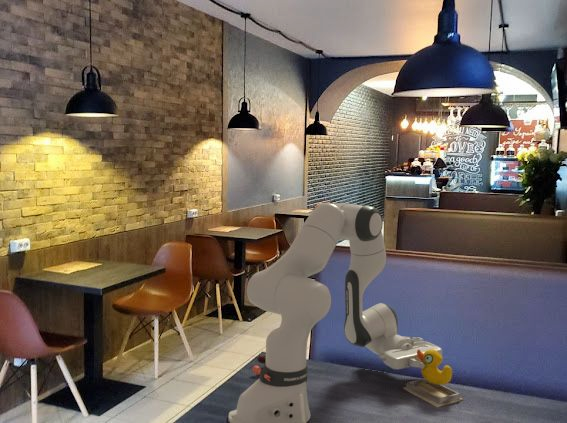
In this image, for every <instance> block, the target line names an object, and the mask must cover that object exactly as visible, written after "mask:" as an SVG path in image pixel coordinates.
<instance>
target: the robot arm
mask: <svg viewBox="0 0 567 423" xmlns="http://www.w3.org/2000/svg"><path fill="white" fill-rule="evenodd" d="M383 224H384V222H383V217H382V214H381V212H380V211H379V210H378V209H377V208H376V207H373V206H370V205H361V204H354V203H348V202H339V203H338V202H337V203H333V202H323V203H320V204H318V205H316V207H315V208H314V209H313V210H312V212H311V213H310V214H309V215H308V217H307V218H306V219H305V221H304V223H303V224H302V226H301V227H300V230H299V231H298V233H297V235H296V237H295V238H294V239H293V242H292V244H291V245H290V246H289V248H288V249H287V250H286V252H285V253H283V255H282V256H281V257H279V259H278V260H276V261H275V262H274V263H272V264H271V265H270V266H268V267H267V268H265V269H263V270H261V271H257V272H255V273H254V274H252V276H251V277H250V278H249V280H248V283H247V285H246V295H247V299H248V301H249V303H251V305H254V306H255V307H257V308H259V309H260V310H262V311H265V312H269V313H274V314H277V315H280V316H281V322H280V326H279V327H277V328H275V329H273V330H272V331H271V332H269V333H268V335H267V336H266V339H265V340H266V341H265V356H266V363H265V364H264V365H263V366H262V367H263V369H261V368H262V367H260V366H259V365H253V367H252V372H253V373H254V374H255V375H257V376H258V375H259V376H258V378H257V380H256V381H254V382H253V384H251V385H250V386H249V387H248V388H247V389H245V390H244V391H243V392H242V393H241V394H240V395H239V397H238V400H237V405H236V409H234V410H231V411H229V412H228V422H229V423H307V422H308V421H310V419H311V411H310V407H309V402H308V393H307V382H308V364H307V354H308V353H307V352H308V350H307V349H308V342H309V341H308V340H309V336H310V333H311V331H312V329H313V328H314V326H315V325H316V324H317V323H318V322H320V321H321V320H322V319H324V318H325V317H326V315H327V314H328V313H329V311H330V309H331V305H332V296H331V292H330V289H329V288H328V286H327V285H326V284H324V283H321V282H319V281H317V280H314V279H312V278H310V277H311V276H313V275H316V274H318V273H320V272H321V271H323V270H324V269H325V268H326V265H327V264H328V262H329V260H330V259H331V256H332V254H333V252H334V250H335V248H336V246H337V244H338V242H339V240H340V239H341V240H344V241H349V242H348V243H349V251H350V262H349V263H350V264H349V267H348V271H347V272H346V274H345V278H344V279H345V280H344V298H345V299H344V302H345V307H344V308H345V312H344V313H345V316H344V317H345V318H344V324H343V333H344V336H345V338H346V340H347V341H348V342H349V343H350V344H352V345H353V346H356V347H359V348H364V347H366V348H367V349H368V350H369V351H371V352H372V353H374V354H375V355H378V356H377V357H378V359H380V360H381V361H383V363H384V364H385V365H386V366H388V367H389V368H390V369H393V370H396V371H397V370H402V369H406V368H410V367H413V368H419V369H420V370H421V369H424V368H426V363H425V362H424V361H423V360H421V359H419V357H418V355H417V350H420V351H421V352H422V353H423V354H424V353H425V351H427V350H431V349H432V350H436V351H437V352H438V353H439V354H440V355H441V356H442V357H443V349H442V347H440V346H438V345H437V344H434V343H432V342H429V341H426V340H425V341H424V338H422V337H420V336H419V337H414V336H412V337H411V336H404V335H403V336H402V335H400V334H398V330H399V328H398V327H399V321H398V320H399V319H398V315H397V312H396V311H395V310H394V309H393V308H392V307H391V306H390V305H388V304H386V303H384V302H379V303H377V304H374V305H373V306H371V307H369V308H367V309H365V310H364V309H363V298H364V297H363V296H364V292H365V290H366V288H367V287H368V286H369V285H370V283H371V282H372V281H374V279H375V278H376V277H377V276H378V275H380V273H382V271H383V270H384V268H385V266H386V262H387V252H386V251H387V250H386V244H385V240H384V236H383V235H384V234H383V232H382V229H383Z"/></svg>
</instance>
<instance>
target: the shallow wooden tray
mask: <svg viewBox="0 0 567 423" xmlns="http://www.w3.org/2000/svg"><path fill="white" fill-rule="evenodd" d="M402 388H403V390H405V391H407V392H408V393H410V394H412V395H414V396H416V397H417V398H420V399H421V400H423V401H425V402H427V403H429V404H430V405H432V406H435V407H436V408H439V407H443V406H446V405H451V404H454V403H457V402H462V401H463V400H464V399H463V398H462V397H461V393H459V392H457V391H456V390H454V389H452V388H450V387H446V385H437V384H433V383H430V382H428V381H426V380H425V378H424V377H423V378H421V379H417V380H412V381H408V382H406V386H405V387H404V386H403V387H402Z"/></svg>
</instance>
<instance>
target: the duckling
mask: <svg viewBox="0 0 567 423" xmlns="http://www.w3.org/2000/svg"><path fill="white" fill-rule="evenodd" d="M417 355H418V357H419V359H421V360H423V361H424V362H425V363H426V368H424V369H421V368H420V370H421V374H422V377H423V379H424V378H425V380H426V381H428V382H430V383H433V384H437V385H443V386H445V385H446V384H449V382H451V380H452V377H453V369H452V368H451V366H449V365H447V364H446V365H444V366H443V367H442V370H440V369H439V368H438V367H439V366H440V365H441V363H443V361H444V357H443V355H442V356H441V355H440V354H439V353H438V352H437V351H436V350H432V349H431V350H427V351H425V353H424V354H423V353H422V352H421V351H420V350H417Z"/></svg>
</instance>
